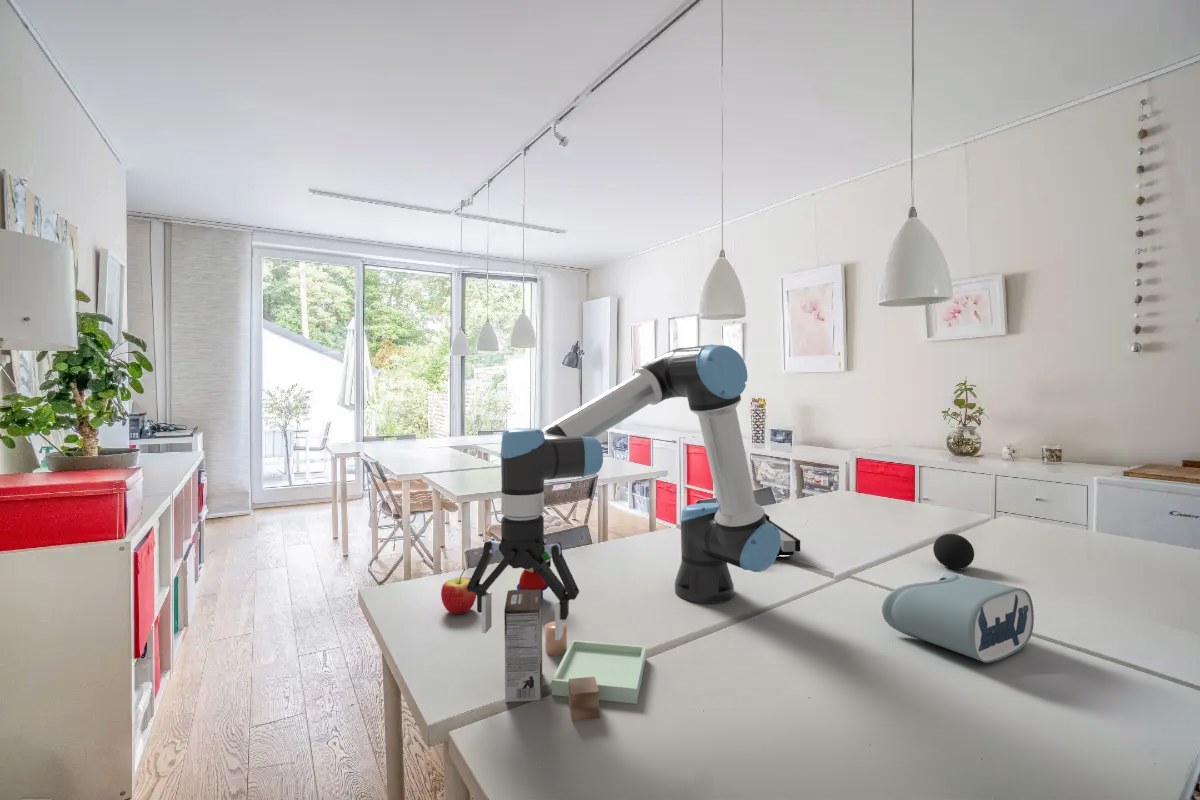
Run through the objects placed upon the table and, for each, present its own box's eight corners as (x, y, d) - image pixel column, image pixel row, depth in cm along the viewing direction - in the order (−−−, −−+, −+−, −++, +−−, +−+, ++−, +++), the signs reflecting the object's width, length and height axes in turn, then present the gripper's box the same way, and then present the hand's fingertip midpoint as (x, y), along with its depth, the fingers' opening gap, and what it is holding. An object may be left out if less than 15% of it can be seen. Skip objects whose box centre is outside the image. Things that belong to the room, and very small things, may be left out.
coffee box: (508, 674, 99) (507, 589, 99) (543, 672, 100) (542, 588, 100) (503, 703, 90) (502, 609, 90) (541, 701, 91) (540, 608, 90)
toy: (543, 591, 140) (542, 535, 139) (559, 602, 132) (558, 542, 132) (511, 599, 135) (510, 540, 134) (526, 611, 128) (525, 549, 127)
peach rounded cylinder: (569, 645, 110) (568, 622, 110) (563, 656, 106) (563, 631, 106) (548, 644, 111) (548, 620, 111) (542, 654, 107) (542, 630, 107)
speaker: (973, 566, 157) (973, 532, 157) (975, 576, 148) (975, 541, 148) (933, 560, 162) (933, 528, 162) (933, 570, 154) (933, 535, 153)
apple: (484, 610, 128) (483, 569, 128) (453, 622, 122) (452, 579, 121) (465, 601, 133) (464, 562, 133) (434, 612, 127) (433, 571, 127)
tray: (645, 659, 105) (645, 646, 105) (636, 703, 90) (636, 688, 90) (572, 652, 107) (572, 639, 107) (551, 694, 93) (551, 680, 93)
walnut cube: (594, 702, 91) (594, 676, 90) (599, 718, 86) (598, 691, 86) (568, 705, 90) (568, 678, 90) (571, 721, 85) (571, 694, 85)
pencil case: (975, 673, 98) (972, 604, 98) (880, 636, 115) (878, 577, 115) (1035, 646, 108) (1032, 583, 109) (940, 615, 125) (937, 561, 125)
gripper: (595, 513, 96) (594, 630, 96) (466, 507, 100) (466, 618, 101) (586, 523, 88) (586, 649, 89) (447, 516, 93) (447, 636, 93)
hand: (522, 633), depth 95 cm, fingers open, 13 cm apart
